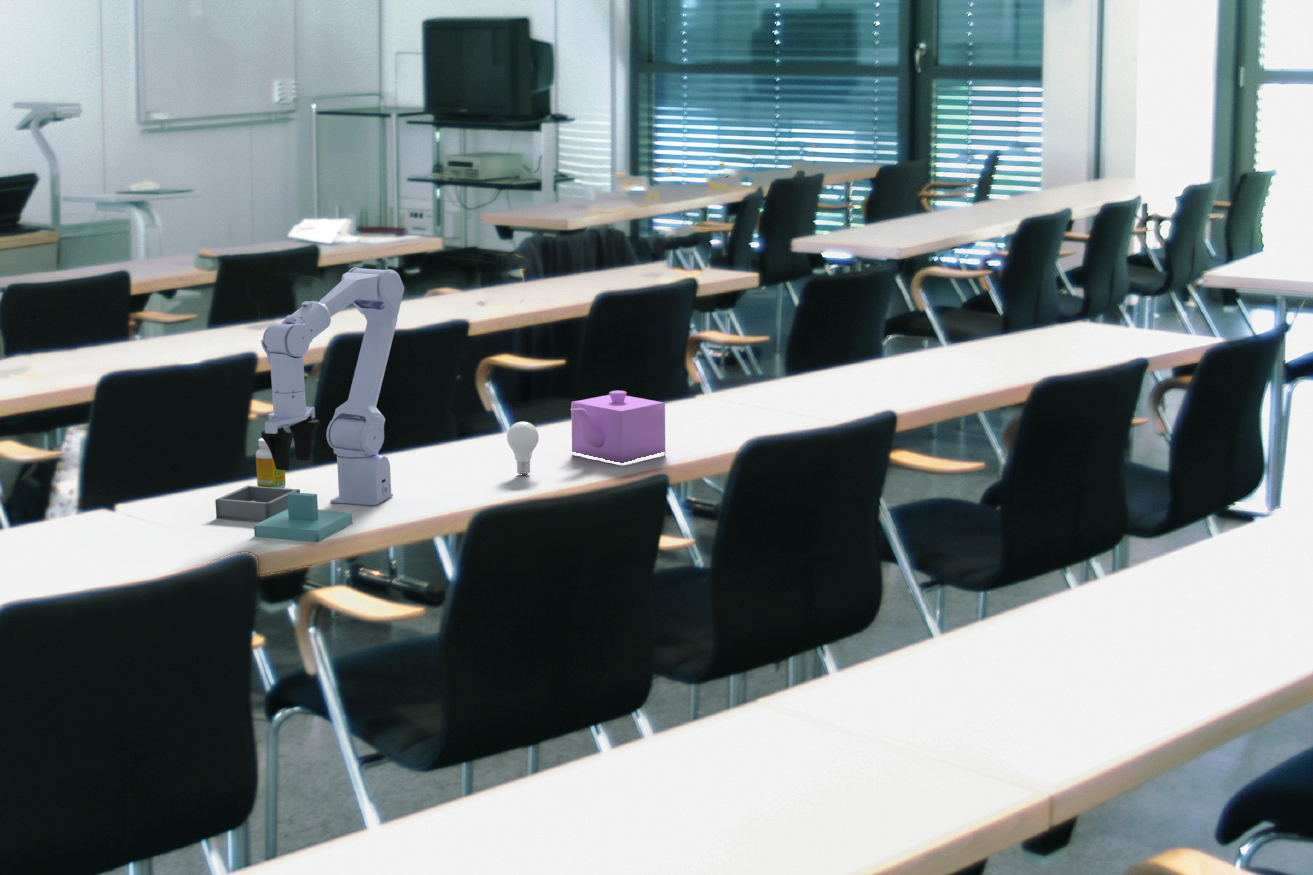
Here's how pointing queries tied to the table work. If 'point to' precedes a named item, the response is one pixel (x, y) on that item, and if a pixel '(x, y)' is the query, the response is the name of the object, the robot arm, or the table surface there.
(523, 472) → the lightbulb
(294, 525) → the lid
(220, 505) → the tub
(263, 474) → the supplement bottle
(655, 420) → the teapot
